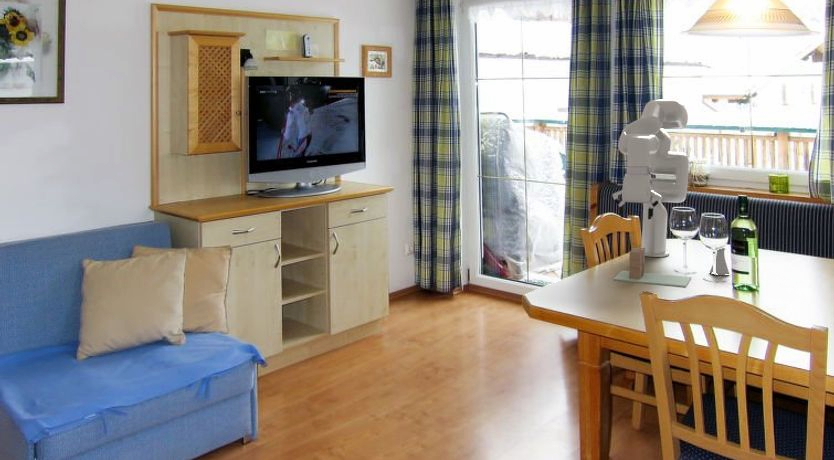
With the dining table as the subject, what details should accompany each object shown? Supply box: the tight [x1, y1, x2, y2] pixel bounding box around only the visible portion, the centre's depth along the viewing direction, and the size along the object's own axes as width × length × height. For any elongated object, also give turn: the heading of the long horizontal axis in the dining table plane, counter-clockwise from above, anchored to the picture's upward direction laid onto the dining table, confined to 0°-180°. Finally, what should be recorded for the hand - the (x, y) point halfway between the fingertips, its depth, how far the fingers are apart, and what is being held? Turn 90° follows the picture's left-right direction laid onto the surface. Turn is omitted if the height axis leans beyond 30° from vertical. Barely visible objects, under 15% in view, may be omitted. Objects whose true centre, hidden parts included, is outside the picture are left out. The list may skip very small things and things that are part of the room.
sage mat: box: [613, 270, 692, 288], centre depth 277 cm, size 13×25×1 cm, turn 63°
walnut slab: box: [628, 246, 646, 279], centre depth 279 cm, size 8×4×10 cm, turn 153°
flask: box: [709, 247, 730, 275], centre depth 282 cm, size 7×7×10 cm
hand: (636, 217), depth 276 cm, fingers open, 9 cm apart
